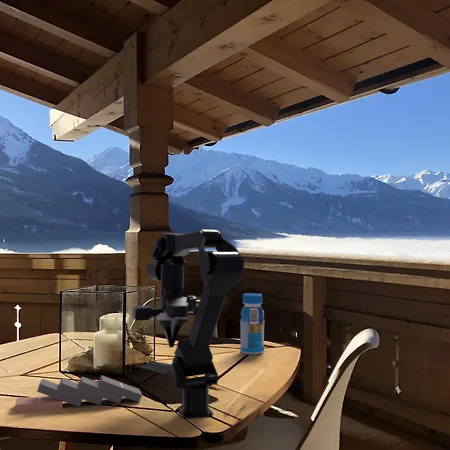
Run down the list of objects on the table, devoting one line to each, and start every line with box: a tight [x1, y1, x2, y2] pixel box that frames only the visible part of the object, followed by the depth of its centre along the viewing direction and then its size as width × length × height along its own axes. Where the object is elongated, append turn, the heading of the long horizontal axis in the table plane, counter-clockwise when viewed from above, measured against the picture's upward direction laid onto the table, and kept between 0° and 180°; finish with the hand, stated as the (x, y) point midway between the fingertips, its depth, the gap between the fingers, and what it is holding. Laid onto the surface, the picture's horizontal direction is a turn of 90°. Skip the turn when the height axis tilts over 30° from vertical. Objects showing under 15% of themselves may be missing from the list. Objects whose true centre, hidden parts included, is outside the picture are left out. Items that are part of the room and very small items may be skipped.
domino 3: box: [58, 377, 104, 406], centre depth 120 cm, size 2×5×10 cm
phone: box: [139, 360, 173, 375], centre depth 154 cm, size 8×1×15 cm
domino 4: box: [77, 376, 124, 405], centre depth 121 cm, size 2×5×10 cm
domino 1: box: [14, 395, 64, 414], centre depth 117 cm, size 2×5×10 cm
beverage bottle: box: [239, 292, 266, 355], centre depth 178 cm, size 8×8×20 cm
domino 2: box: [36, 378, 84, 408], centre depth 119 cm, size 2×5×10 cm
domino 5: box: [97, 375, 143, 403], centre depth 123 cm, size 2×5×10 cm
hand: (171, 347), depth 127 cm, fingers closed
